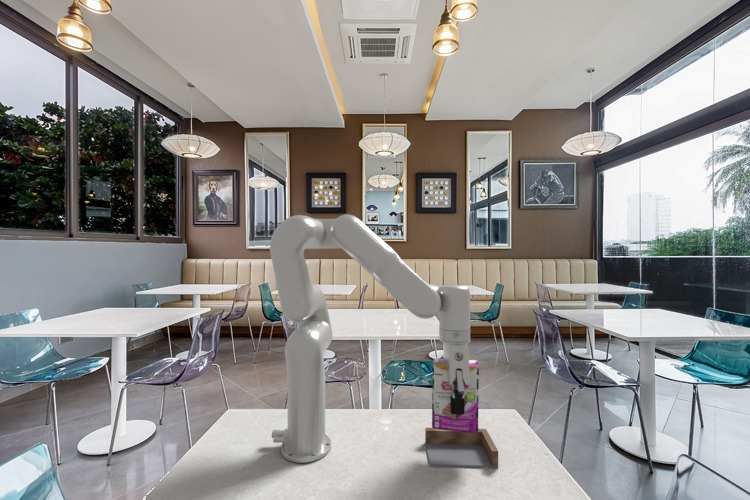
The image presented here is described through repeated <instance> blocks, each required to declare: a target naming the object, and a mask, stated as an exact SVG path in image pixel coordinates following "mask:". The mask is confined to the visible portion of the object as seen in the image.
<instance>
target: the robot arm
mask: <svg viewBox="0 0 750 500" xmlns="http://www.w3.org/2000/svg"><path fill="white" fill-rule="evenodd" d="M271 235H272V236H271V237H270V238H271V239H270V244H269V253H270V258H271V263H272V268H273V273H274V277H275V284H276V288H277V293H278V299H279V303H280V309H281V313H282V315H283V316H284V318H286V319H287V320H289V321H290V322H293V323H294V322H295V323H297V328H295V330H293V331H292V332H291V333H290V335H289V336H288V338H287V340H286V343H285V345H284V346H285V347H284V355H285V363H286V373H287V428H284V430H283V429H282V430H281V429H272V431H271V439H272V441H273V443H277V444H278V443H281V446H280V448H281V449H280V453H281V455H282V457H283V458H284V459H286V460H287V461H288V462H293V463H297V464H304V463H305V464H306V463H310V462H311V463H312V462H316V461H317V460H320V459H322V458H324V457H326V455H328V453H329V452H330V450H331V448H332V440H331V438H330V437H329V436H328V435H327V434H326V372H325V362H324V361H325V360H324V355H325V353H326V351H327V349H328V348H329V347H330V345H331V343H332V339H333V329H332V324H331V320H330V315H329V309H328V305H327V304H328V303H327V300H326V296H325V294H324V292H323V290H322V288H320V286H319V285H317V284H316V283H314V282H311V278H310V274H309V273H310V272H309V268H308V264H307V261H306V258H305V255H304V254H305V253H304V252H305V250H306V249H307V250H314V249H315V250H318V249H341V250H342V251H343V252H345V253H346V254H347V255H348V256H349V257H351V258H352V259H353V260H354V261H355V262H357V263H358V264H359V265H360V266H361V267H362V268H363V269H364V270H366V272H367V273H368V274H370V276H371V277H372V278H373V279H374V280H375V281H377V282H378V283H379V284H380V285H381V286H382V287H383V288H384V289H385V290H386V292H388V293H389V294H390V295H391V296H392V297H393V298H394V299H395V300H397V302H399V303H400V304H401V305H402V306H403V307H404V308H405V309H407V310H408V311H409V312H410V313H411V314H412V315H414V316H415V317H417V318H419V319H424V320H428V319H431V318H434V317H436V316H437V314H438V315H439V318H438V319H439V320H438V323H439V326H438V328H439V329H438V330H439V331H438V333H439V335H438V337H439V338H438V340H439V342H440V343H443V344H442V345H443V347H442V350H443V352H442V353H443V354H442V358H444V361H445V362H446V365H447V377H448V382H449V384H450V385H451V390H452V397H451V414H464V413H465V409H464V385H463V380H464V383H465V385H467V386H469V385H470V368H469V360H470V357H469V356H470V355H469V354H470V353H469V346H468V344H470V343H471V290H470V288H469V287H468V286H466V285H463V284H444V285H443V284H441V285H440V284H433V283H427V282H426V281H425V280H424V279H422V278H421V277H420V276H419V275H418V274H417V273H415V271H413V269H412V268H410V267H409V266H408V265H407V264H406V263H405V262H404V261H403V260H402V258H401V257H400V256H399V255H398V253H397V252H396V251H395V250H394V249H393V248H392V247H391V246H390V245H389V244H388V243H387V242H385V241H384V240H383V239H382V238H381V237H380V236H378V235H377V234H376V233H375V232H374V231H372V230H371V228H369V227H368V226H367V225H365V223H364V222H363V221H362V220H361V219H359V217H356V216H355V215H353V214H349V213H348V214H347V213H346V214H342V215H340V216H338V217H337V218H313V217H310V216H308V215H302V214H296V215H292V216H290V217H287V218H286V219H285V220H283V221H281V223H279V225H278V226H277V227H276V228H275V230H274V231H273V233H272V234H271ZM453 382H457V384H454V383H453ZM454 387H457V389H456V390H454Z"/></svg>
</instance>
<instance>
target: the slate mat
mask: <svg viewBox="0 0 750 500" xmlns="http://www.w3.org/2000/svg"><path fill="white" fill-rule="evenodd" d="M425 447H426V452H427V457H428V458H427V459H428V464H429V467H436V468H437V467H438V468H439V467H440V468H441V467H443V468H445V467H446V468H479V469H480V468H482V469H499V465H498V466H492V465H491V463H490V461H489V459H488V457H487V455H486V453H485V451H484V449H483V447H482V445H452V444H425Z"/></svg>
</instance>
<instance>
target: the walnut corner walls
mask: <svg viewBox="0 0 750 500" xmlns="http://www.w3.org/2000/svg"><path fill="white" fill-rule="evenodd" d="M424 434H425V435H424V437H425V439H424V440H425V445H426V444H452V445H482V447H483V449H484V451H485V453H486V455H487V457H488V459H489V461H490V463H491V465H492V466H498V467H499V450H498V448H497V447H496V444H495V442H494V441H493V438H492V437H491V435H490V433H489V432H488V430H487V428H478V433H470V432H460V431H451V430H442V429H432V427H425V429H424Z"/></svg>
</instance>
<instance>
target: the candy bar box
mask: <svg viewBox="0 0 750 500" xmlns="http://www.w3.org/2000/svg"><path fill="white" fill-rule="evenodd" d="M469 368H470V385H469V386H467V385H465V383H464V380H463V385H464V409H465V413H464V414H451V397H452V390H451V385H450V384H449V382H448V377H447V365H446V362H445V361H444V358H443V357H433V359H432V375H431V376H432V378H431V379H432V383H431V384H432V388H431V389H432V392H431V394H432V396H431V397H432V398H431V399H432V400H431V416H432V417H431V428H432V429H442V430H451V431H460V432H470V433H478V429H479V381H480V379H479V377H480V376H479V371H480V370H479V369H480V367H479V363H478V360H474V359H469ZM453 383H454V384H457V382H453ZM456 389H457V387H454V390H456Z"/></svg>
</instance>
